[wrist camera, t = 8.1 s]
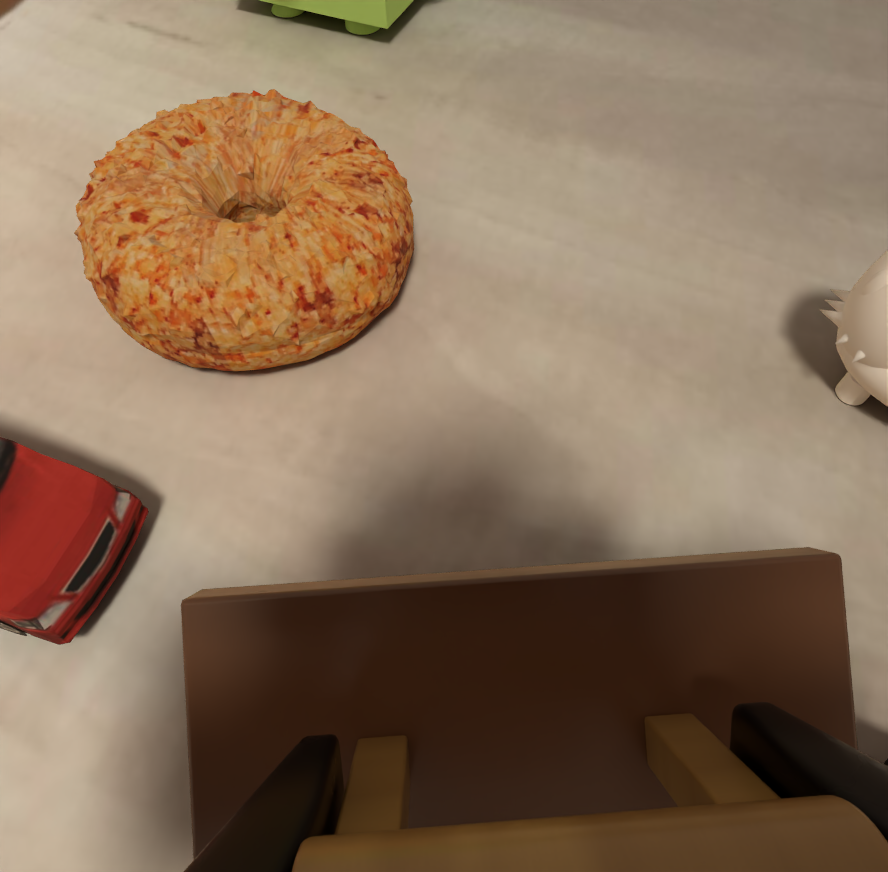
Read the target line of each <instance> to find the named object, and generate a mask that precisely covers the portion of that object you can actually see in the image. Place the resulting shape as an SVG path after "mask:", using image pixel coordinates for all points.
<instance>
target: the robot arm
mask: <svg viewBox="0 0 888 872" xmlns="http://www.w3.org/2000/svg"><path fill="white" fill-rule="evenodd" d="M730 750H731V751H732V752H733V753H734V754H735V755H736V756H737V757H738V758H739V759H740V760H741V761H742V762H743V763H744V764H745V765H747V766H748V767H749V768H750V769H751V770H752V771H753V772H754V773H755V774H756V775H757V776H758V777H759V778H760V779H761V780H762V781H763V782H764V783H765V784H766V785H768V786H769V787H770V788H771V789H772V790H773V791H774V792H775V793H776V794H777V795H778V796H779V797H780V798H781V799H783V798H795V797H807V796H820V795H833V796H837V797H840V798H842V799H845V800H847V801H849V802H851V803H852V804H853V805H855V806H856V807H858V808H859V809H860V810H861V811H862V812H863V813H864V814H865V815H866V816H867V817H868V818H869V819H870V820H871V821H872V822H873V823H874V824H875V826H876V827H877V828H878V829H879V831H880V832H881V833H882V835H883V836H884V837H885V839H886V840H887V842H888V766H887V765H885V764H883V763H881V762H879V761H877V760H875V759H874V758H872V757H870V756H868V755H866V754H864V753H862V752H861V751H859V750H857V749H855V748H853V747H851V746H849V745H848V744H846V743H844V742H842V741H840V740H838V739H836V738H835V737H833V736H831V735H829V734H827V733H825V732H823V731H822V730H820V729H818V728H816V727H814V726H812V725H810V724H809V723H807V722H805V721H803V720H801V719H799V718H797V717H796V716H794V715H792V714H790V713H788V712H786V711H784V710H783V709H781V708H779V707H777V706H775V705H773V704H771V703H768V702H755V703H742V704H738V705H737V706H735V707H734V709H733V712H732V720H731V738H730ZM344 793H345V792H344V782H343V773H342V763H341V754H340V745H339V740H338V738H337V737H336V736H335V735H334V734H328V735H314V736H306V737H304V738H303V739H301V740H300V742H299V743H298V744H297V745H296V746H295V747H294V748H293V749H292V750H291V752H290V753H289V754H288V755H287V756H286V757H285V758H284V759H283V761H282V762H281V763H280V764H279V765H278V766H277V767H276V768H275V770H274V771H273V772H272V773H271V774H270V775H269V776H268V777H267V779H266V780H265V781H264V782H263V783H262V784H261V785H260V786H259V788H258V789H257V790H256V791H255V792H254V793H253V794H252V795H251V797H250V798H249V799H248V800H247V801H246V802H245V803H244V804H243V806H242V807H241V808H240V809H239V810H238V811H237V812H236V813H235V814H234V816H233V817H232V818H231V819H230V820H229V821H228V822H227V823H226V825H225V826H224V827H223V828H222V829H221V830H220V831H219V832H218V834H217V835H216V836H215V837H214V838H213V839H212V840H211V841H210V843H209V844H208V845H207V846H206V847H205V848H204V849H203V850H202V852H201V853H200V854H199V855H198V856H197V857H196V858H195V859H194V861H193V862H192V863H191V864H190V865H189V866H188V867H187V868H186V870H185V871H184V872H292V868H293V864H294V861H295V857H296V854H297V852H298V849H299V847H300V845H301V843H302V842H303V841H304V840H305V839H307V838H309V837H311V836H323V835H334V833H335V829H336V825H337V821H338V817H339V813H340V809H341V805H342V801H343V797H344Z"/></svg>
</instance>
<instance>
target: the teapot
mask: <svg viewBox="0 0 888 872" xmlns="http://www.w3.org/2000/svg"><path fill="white" fill-rule="evenodd" d="M260 1H264V2H268V3H273V6H272V9H271V11H272V13H273V14H274V15H276V16H279V17H294V16H298V15H300V14H302V13H303V12H304V11H309V12H313V13H318V14H322V15H327V16H331V17H336V18H340V19H345V26H346V29H347V30H348V31H349V32H351V33H353V34H358V35H366V34H371V33H374V32H376V31H377V30H379V29H380V27H381V28H385V29H388V28H389V27H390V26H391V24H392V23H393V22H394V21H395V20H396V19H397V18H398V17H399V16H400V15H401V14H402V13H403V11H404V10H405V9H406V8H407V7H408V6H409V5H410V4H411V3H412V2H413V1H414V0H260Z"/></svg>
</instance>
